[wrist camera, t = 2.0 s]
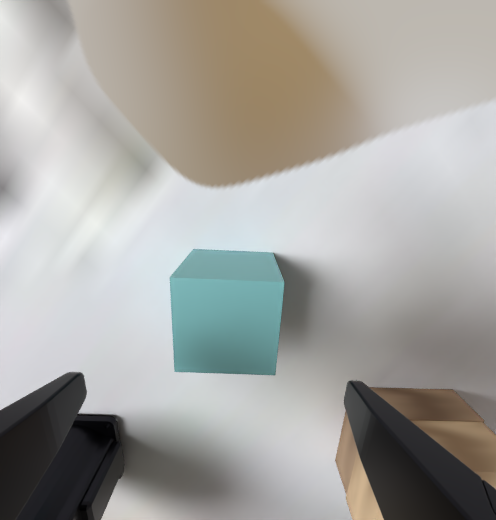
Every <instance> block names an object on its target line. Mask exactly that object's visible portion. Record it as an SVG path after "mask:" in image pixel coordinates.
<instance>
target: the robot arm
mask: <svg viewBox="0 0 496 520" xmlns="http://www.w3.org/2000/svg"><path fill="white" fill-rule="evenodd" d="M86 394H87V390H86V385H85V380H84V375H83V374H82V373H81V372H69V373H66V374H64V375H63V376H61V377H59V378H57V379H55V380H54V381H52V382H50V383H48V384H46V385H45V386H43V387H41V388H39V389H38V390H36V391H34V392H32V393H30V394H29V395H27V396H25V397H23V398H21V399H20V400H18V401H16V402H14V403H12V404H11V405H9V406H7V407H5V408H4V409H2V410H0V520H101V518H102V516H103V513H104V511H105V509H106V507H107V504H108V502H109V500H110V497H111V495H112V493H113V490H114V488H115V486H116V483H117V481H118V479H120V478H121V477H122V475H123V472H124V459H123V452H122V446H121V443H120V439H119V433H118V426H117V421H116V419H115V418H113V417H110V416H77V414H78V412H79V410H80V408H81V406H82V404H83V402H84V400H85V398H86ZM344 406H345V409H346V413H347V416H348V420H349V423H350V427H351V430H352V433H353V437H354V440H355V444H356V447H357V450H358V454H359V457H360V460H361V462H362V465H363V468H364V470H365V473H366V475H367V478H368V480H369V483H370V486H371V488H372V491H373V493H374V496H375V498H376V501H377V503H378V506H379V509H380V511H381V514H382V516H383V519H384V520H496V489H495V488H494V487H493V486H491V485H490V484H489V483H488V482H486V481H485V480H482V479H481V477H480V476H479V475H478V474H476V473H475V472H474V471H473V470H471V469H470V468H469V467H468V466H466V465H465V464H464V463H463V462H461V461H460V460H459V459H458V458H456V457H455V456H454V455H453V454H451V453H450V452H449V451H448V450H446V449H445V448H444V447H443V446H441V445H440V444H439V443H438V442H436V441H435V440H434V439H433V438H431V437H430V436H429V435H428V434H426V433H425V432H424V431H423V430H422V429H420V428H419V427H418V426H417V425H415V424H414V423H413V422H412V421H410V420H409V419H408V418H407V417H405V416H404V415H403V414H402V413H400V412H399V411H398V410H397V409H395V408H394V407H393V406H392V405H390V404H389V403H388V402H387V401H385V400H384V399H383V398H382V397H380V396H379V395H378V394H377V393H375V392H374V391H373V390H372V389H370V388H369V387H368V386H367V385H365V384H364V383H363V382H361V381H349V382H348V383H347V387H346V392H345V397H344Z"/></svg>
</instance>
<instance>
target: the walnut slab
mask: <svg viewBox="0 0 496 520" xmlns="http://www.w3.org/2000/svg"><path fill="white" fill-rule="evenodd" d="M369 388H370V389H372V390H373V391H374V392H375V393H377V394H378V395H379V396H380V397H382V398H383V399H384V400H385V401H387V402H388V403H389V404H390V405H392V406H393V407H394V408H395V409H397V410H398V411H399V412H400V413H402V414H403V415H404V416H405V417H407V418H408V419H409V420H424V421H464V422H483V423H484V420H483V419H482V418H481V417H480V416H479V415H478V414H477V413H476V412H475V411H474V410H473V409H472V408H471V407H470V406H469V405H468V404H467V403H466V402H465V401H464V400H463V399H462V398H461V397H460V396H459V395H458V394H457V393H456V392H455V391H454V390H452V389H413V388H374V387H369ZM356 454H357V447H356V444H355V440H354V437H353V433H352V430H351V427H350V423H349V420H348V416H347V413H346V412H345V417H344V421H343V426H342V431H341V436H340V440H339V445H338V450H337V455H336V459H335V461H336V464H337V467H338V471H339V474H340V477H341V480H342V483H343V486H344V489H345V492H346V495H347V491H348V487H349V483H350V479H351V475H352V471H353V466H354V462H355V458H356Z"/></svg>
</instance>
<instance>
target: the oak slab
mask: <svg viewBox="0 0 496 520" xmlns="http://www.w3.org/2000/svg"><path fill="white" fill-rule="evenodd" d="M410 421H412V422H413V423H414V424H415V425H417V426H418V427H419V428H420V429H422V430H423V431H424V432H425V433H426V434H428V435H429V436H430V437H431V438H433V439H434V440H435V441H436V442H438V443H439V444H440V445H441V446H443V447H444V448H445V449H446V450H448V451H449V452H450V453H451V454H453V455H454V456H455V457H456V458H458V459H459V460H460V461H461V462H463V463H464V464H465V465H466V466H468V467H469V468H470V469H471V470H473V471H474V472H475V473H476V474H478V475H479V476H480V477H481V479H482V480H485V481H486V482H488V483H489V484H490V485H491V486H493V487H494V488H495V489H496V435H495V434H494V433H493V432H492V431H491V430H490V429H489V428H488V427H487V426H486V425H485V424H484V423H483V422H464V421H424V420H410ZM346 500H347V504H348V507H349V510H350V513H351V516H352V519H353V520H384V519H383V516H382V514H381V511H380V509H379V506H378V503H377V501H376V498H375V496H374V493H373V491H372V488H371V486H370V483H369V480H368V478H367V475H366V473H365V470H364V468H363V465H362V462H361V460H360V457H359V454H358V450H357V454H356V458H355V462H354V466H353V471H352V475H351V479H350V483H349V487H348V491H347V495H346Z"/></svg>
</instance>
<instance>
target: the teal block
mask: <svg viewBox="0 0 496 520" xmlns="http://www.w3.org/2000/svg"><path fill="white" fill-rule="evenodd" d="M284 283H285V282H284V280H283V277H282V275H281V272H280V270H279V267H278V265H277V262H276V260H275V257H274V255H273V253H270V252H247V251H224V250H202V249H193V250H192V252H191V253H190V254H189V255H188V256H187V258H186V259H185V260H184V261H183V262H182V264H181V265H180V266H179V267H178V268H177V269H176V271H175V272H174V273H173V274H172V275H171V277H170V291H171V310H172V330H173V350H174V369H175V372H196V373H225V374H255V375H275V373H276V363H277V353H278V343H279V333H280V323H281V313H282V303H283V293H284Z"/></svg>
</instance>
